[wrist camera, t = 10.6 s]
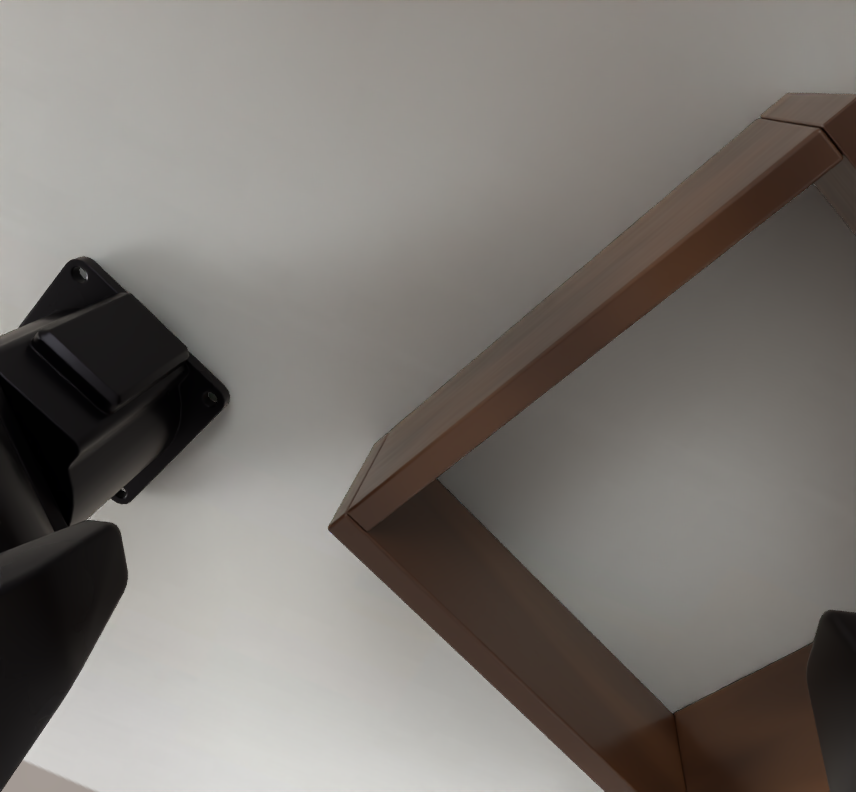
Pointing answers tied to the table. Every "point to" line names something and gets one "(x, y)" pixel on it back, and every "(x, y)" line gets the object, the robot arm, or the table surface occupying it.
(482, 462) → the table surface
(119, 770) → the table surface
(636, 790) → the crate
